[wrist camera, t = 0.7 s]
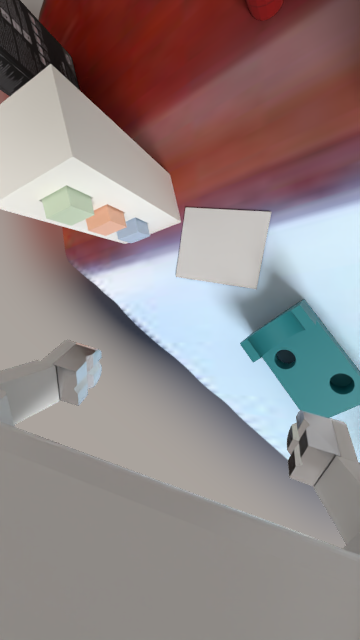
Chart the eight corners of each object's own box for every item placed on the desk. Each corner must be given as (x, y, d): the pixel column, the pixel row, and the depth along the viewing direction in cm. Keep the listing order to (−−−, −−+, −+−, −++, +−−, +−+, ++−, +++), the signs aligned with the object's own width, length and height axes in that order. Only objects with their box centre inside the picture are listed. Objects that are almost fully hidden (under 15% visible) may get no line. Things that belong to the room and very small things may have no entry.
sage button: (63, 192, 40) (37, 181, 36) (86, 179, 39) (61, 166, 35) (71, 225, 40) (46, 218, 36) (94, 214, 39) (71, 205, 35)
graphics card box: (51, 70, 66) (-100, -66, 41) (73, 52, 63) (-75, -106, 38) (69, 140, 66) (-71, 46, 40) (92, 125, 63) (-43, 14, 38)
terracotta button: (99, 207, 48) (80, 199, 44) (119, 197, 46) (102, 188, 42) (105, 235, 48) (88, 230, 44) (126, 227, 46) (110, 220, 42)
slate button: (125, 218, 55) (111, 213, 51) (144, 210, 53) (131, 204, 49) (131, 243, 55) (118, 239, 51) (150, 236, 53) (138, 231, 49)
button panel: (115, 200, 62) (-29, 128, 35) (169, 174, 57) (50, 63, 29) (125, 243, 62) (-11, 205, 35) (181, 222, 57) (72, 156, 29)
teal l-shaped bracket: (253, 331, 54) (239, 343, 45) (304, 298, 49) (299, 304, 40) (311, 412, 51) (309, 442, 42) (370, 386, 46) (383, 413, 37)
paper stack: (194, 158, 55) (192, 156, 54) (334, 156, 46) (335, 154, 45) (176, 276, 59) (175, 276, 58) (304, 296, 50) (304, 296, 49)
